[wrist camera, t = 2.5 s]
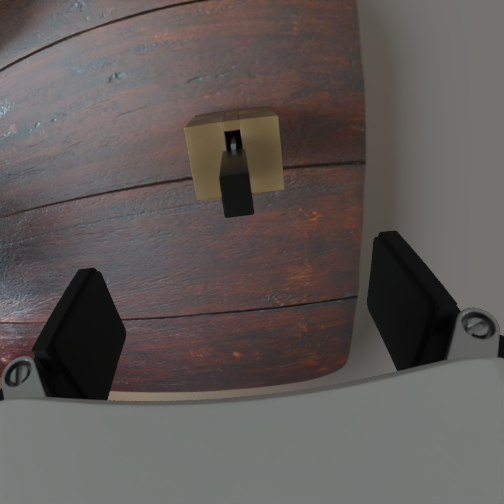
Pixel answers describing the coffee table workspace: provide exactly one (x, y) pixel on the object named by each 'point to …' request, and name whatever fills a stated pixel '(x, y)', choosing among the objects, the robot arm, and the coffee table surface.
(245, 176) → the knife
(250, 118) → the knife block
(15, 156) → the coffee table surface
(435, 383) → the robot arm
